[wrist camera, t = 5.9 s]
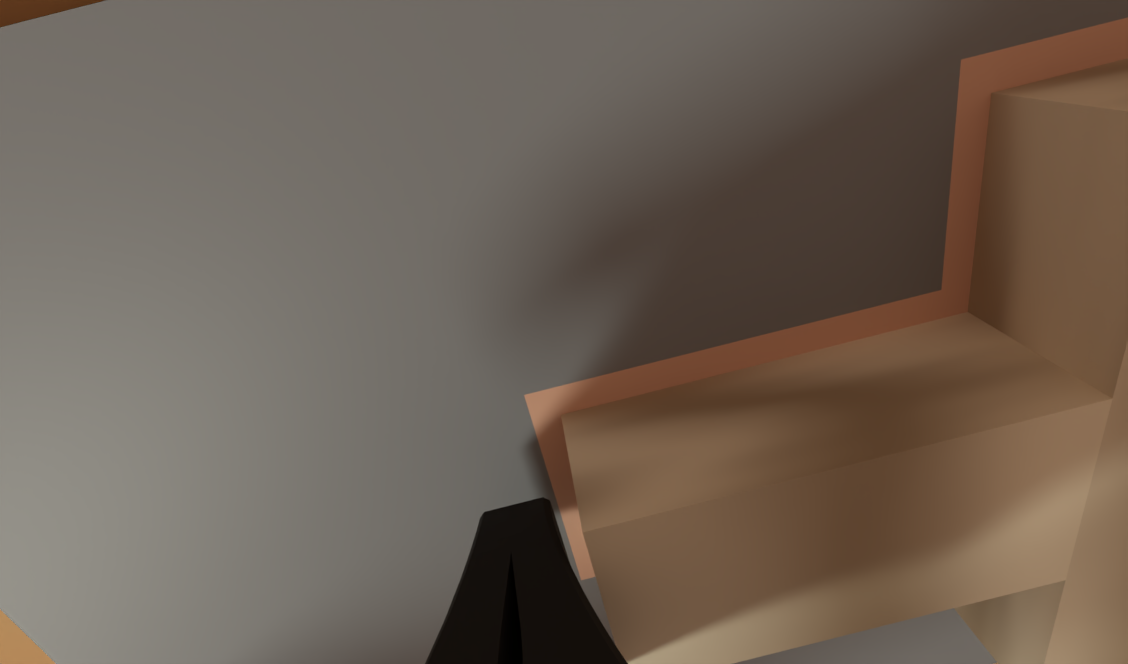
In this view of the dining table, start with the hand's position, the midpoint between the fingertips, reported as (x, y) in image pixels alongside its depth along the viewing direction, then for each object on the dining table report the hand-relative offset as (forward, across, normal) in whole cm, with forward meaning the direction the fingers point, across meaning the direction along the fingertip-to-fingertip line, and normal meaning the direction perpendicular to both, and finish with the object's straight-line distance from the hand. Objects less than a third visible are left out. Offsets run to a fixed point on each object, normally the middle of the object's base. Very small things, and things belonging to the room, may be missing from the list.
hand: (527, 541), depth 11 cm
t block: (+1, -7, 0) cm, 7 cm away
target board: (+2, -3, 0) cm, 4 cm away
